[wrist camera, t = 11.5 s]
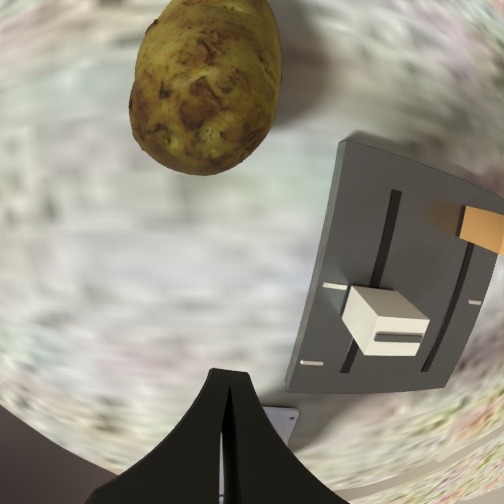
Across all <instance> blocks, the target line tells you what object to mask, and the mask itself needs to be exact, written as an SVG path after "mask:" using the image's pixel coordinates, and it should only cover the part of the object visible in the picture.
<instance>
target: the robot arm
mask: <svg viewBox="0 0 504 504" xmlns="http://www.w3.org/2000/svg"><path fill="white" fill-rule="evenodd" d="M298 416H299V411H298V410H297V409H294V408H276V407H262V405H261V403H260V401H259V399H258V396H257V394H256V392H255V389H254V387H253V384H252V381H251V378H250V375H249V374H248V373H247V372H240V371H232V370H224V369H217V368H212V369H210V370H209V373H208V376H207V379H206V381H205V383H204V385H203V387H202V389H201V391H200V393H199V394H198V396H197V397H196V399H195V401H194V402H193V404H192V405H191V407H190V408H189V410H188V411H187V412H186V414H185V415H184V416H183V418H182V419H181V420H180V422H179V423H178V424H177V425H176V426H175V428H174V429H173V430H172V431H171V432H170V433H169V434H168V435H167V436H166V437H165V438H164V439H163V440H162V441H161V442H160V443H159V444H158V445H157V446H156V447H155V448H154V449H153V450H152V451H151V452H150V453H148V454H147V455H146V456H145V457H144V458H142V459H141V460H140V461H138V462H137V463H136V464H134V465H133V466H132V467H130V468H129V469H128V470H126V471H125V472H123V473H122V474H120V475H119V476H117V477H115V478H114V479H112V480H110V481H108V482H107V483H105V484H103V485H101V486H99V487H98V488H96V489H94V491H93V492H92V493H91V494H90V496H89V497H88V499H87V500H86V502H85V504H350V503H348V502H347V501H345V500H343V499H342V498H340V497H339V496H338V495H336V494H335V493H334V492H332V491H331V490H330V489H329V488H327V487H326V486H325V485H324V484H323V483H321V482H320V481H319V480H318V479H317V478H316V477H315V476H314V475H313V474H312V473H311V472H310V471H309V470H308V469H307V468H306V467H305V466H304V465H303V464H302V463H301V462H300V461H299V460H298V459H297V458H296V456H295V455H294V454H293V453H292V452H291V450H290V449H289V448H288V440H289V438H290V436H291V433H292V431H293V428H294V426H295V423H296V421H297V418H298ZM290 417H292V418H290Z"/></svg>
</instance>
